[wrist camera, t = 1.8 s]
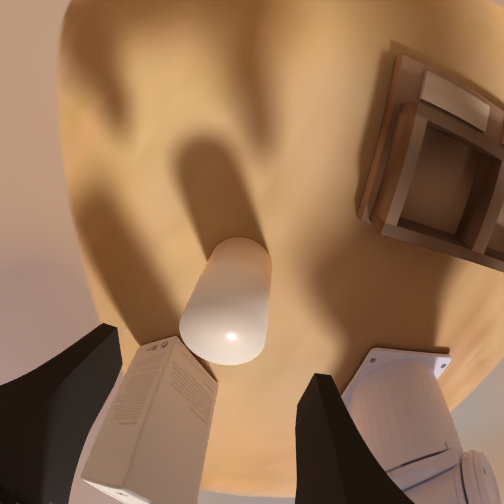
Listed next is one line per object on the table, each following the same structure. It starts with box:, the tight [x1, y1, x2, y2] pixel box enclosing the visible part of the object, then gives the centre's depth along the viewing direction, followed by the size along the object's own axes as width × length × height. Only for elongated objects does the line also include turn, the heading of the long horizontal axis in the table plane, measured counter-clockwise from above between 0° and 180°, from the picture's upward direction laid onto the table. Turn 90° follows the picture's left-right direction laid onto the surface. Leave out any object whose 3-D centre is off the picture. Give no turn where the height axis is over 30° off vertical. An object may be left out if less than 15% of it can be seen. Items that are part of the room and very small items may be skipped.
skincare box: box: [81, 336, 218, 504], centre depth 16 cm, size 6×4×12 cm
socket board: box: [357, 54, 504, 272], centre depth 12 cm, size 9×13×3 cm
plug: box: [179, 237, 272, 365], centre depth 14 cm, size 4×4×6 cm
